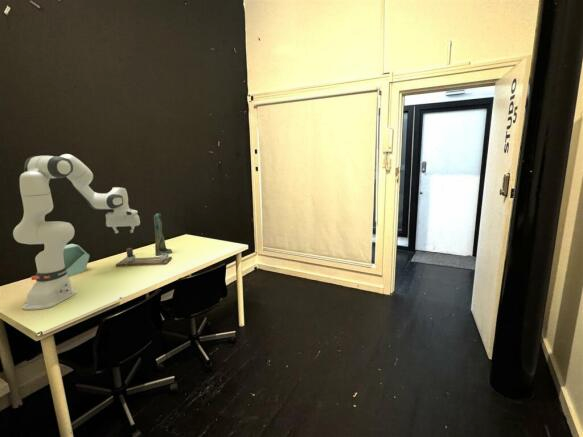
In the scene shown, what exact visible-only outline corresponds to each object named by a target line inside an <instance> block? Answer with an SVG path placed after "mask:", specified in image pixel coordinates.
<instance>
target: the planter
mask: <svg viewBox="0 0 583 437" xmlns="http://www.w3.org/2000/svg"><path fill="white" fill-rule="evenodd" d="M63 256H64V264H65V267H66V269H67V276H68V277H71V276H74V275H77V274H81V273H84V272H86V270H87V266H88V263H89V259H90V254H89V253H87V251H85V249H83V248H82V247H81V246H80V245H79V244H74V243H70V244H66V246H65V248H64V252H63Z"/></svg>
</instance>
